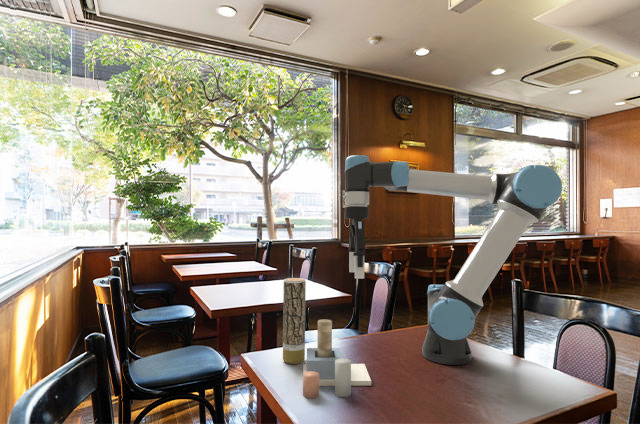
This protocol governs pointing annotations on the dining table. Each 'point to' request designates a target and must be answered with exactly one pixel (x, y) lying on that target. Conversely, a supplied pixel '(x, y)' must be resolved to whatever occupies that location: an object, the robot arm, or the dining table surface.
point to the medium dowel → (342, 377)
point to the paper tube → (294, 320)
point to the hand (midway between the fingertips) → (356, 275)
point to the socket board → (355, 376)
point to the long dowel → (324, 338)
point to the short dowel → (311, 384)
